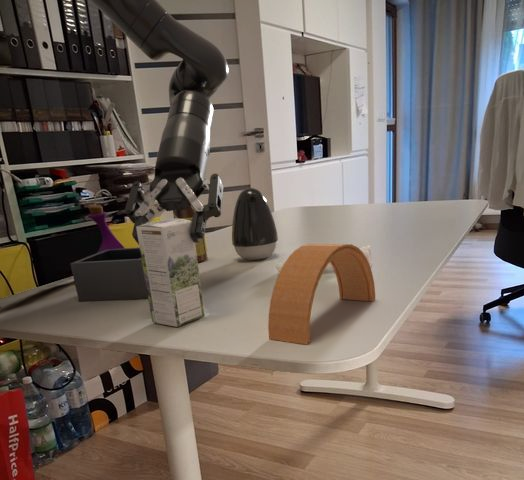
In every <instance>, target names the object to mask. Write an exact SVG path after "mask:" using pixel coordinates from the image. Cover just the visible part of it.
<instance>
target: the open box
mask: <svg viewBox="0 0 524 480" xmlns="http://www.w3.org/2000/svg"><path fill="white" fill-rule="evenodd" d="M69 266H70V269H71V273H72V277H73V281H74V282H73V283H74V287H75V290H76V291H75V292H76V295H77V299H78V301H79V302H93V301H120V300H121V301H123V300H125V301H127V300H149V299H148V293H147V287H146V282H145V276H144V270H143V265H142V258H141V253H140V247H139V246H138V247H124V248H122V249H107V250H104V251H101V252H99V253H98V252H96V253H94V254H91V255H88V256H86V257H84V258H81V259H79V260H76V261H73V262H70V265H69Z"/></svg>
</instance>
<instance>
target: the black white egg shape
mask: <svg viewBox="0 0 524 480" xmlns="http://www.w3.org/2000/svg"><path fill="white" fill-rule="evenodd" d="M278 240H279V237H278V232H277V226H276V222H275V219H274V216H273V212H272V210H271V207H270V205H269V203H268V201H267V199H266V198H265V196H264V194H263V193H262V192H261V191H260V190H259V189H257V188H254V187H248V188H245V189H243V190H242V191H241V192H240V193H239V195H238V197H237V199H236V202H235V206H234V209H233V216H232V226H231V245H232V246H233V248H234V250H235V252H236V254H237V255H238V256H239V257H240V258H242V259H244V260H246V261H260V260H264V259H265V260H266V259H268V258H270V257H271V255H273V253H274V252H275V250H276V248H277V242H278Z"/></svg>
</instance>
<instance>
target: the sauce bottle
mask: <svg viewBox="0 0 524 480" xmlns="http://www.w3.org/2000/svg"><path fill="white" fill-rule="evenodd" d="M193 213H195V212H194V210H193V209H192V208H191V206H189V207H187V208H186V210H178V209H176V210H172V214H173V215H172V216H173V219H185V220H190V221H192V218H193ZM195 246H196V254H197V262H198V263H201V262H205V261H207V260H208V247H207V240H206V233H205V234H204V237H203V238H200V242H196V243H195Z"/></svg>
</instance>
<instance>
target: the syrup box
mask: <svg viewBox="0 0 524 480" xmlns="http://www.w3.org/2000/svg"><path fill="white" fill-rule="evenodd" d="M191 224H192V221H190V220H185V219H174V218H168V219H163V220H158V221H152V222H150V223H149V224H144V225H139V226H137V227H136V229H137V235H138V241H139V244H138V248H139V247H140V253H141V258H142V265H143V270H144V276H145V282H146V287H147V293H148V299H147V300H148V304H149V310H150V316H151V321H152V323H153V324H159V325H164V326H170V327H174V328H175V327H176V328H178V327H181V326H183V325H186V324H188V323H191V322H194V321H195V320H199V319H201V318H203V317H205V308H204V300H203V293H202V287H201V279H200V271H199V262H197V254H196V246H195V243H194V241H193V240H192V238H191V236H190V230H191Z"/></svg>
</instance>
